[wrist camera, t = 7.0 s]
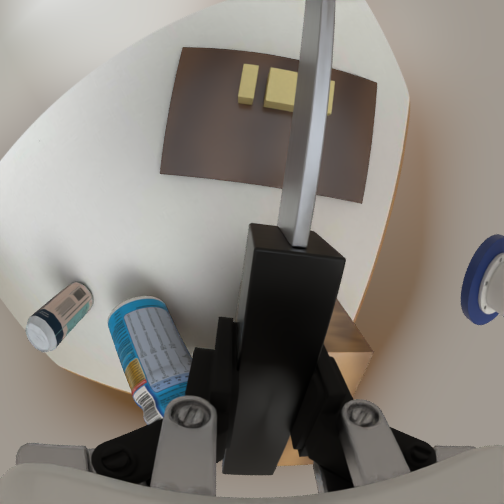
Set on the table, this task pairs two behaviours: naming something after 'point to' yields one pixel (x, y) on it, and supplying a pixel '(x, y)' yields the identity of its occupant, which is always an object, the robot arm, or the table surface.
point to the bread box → (347, 358)
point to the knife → (287, 275)
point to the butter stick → (286, 90)
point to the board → (261, 125)
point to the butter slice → (248, 84)
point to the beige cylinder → (58, 317)
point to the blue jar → (150, 353)
